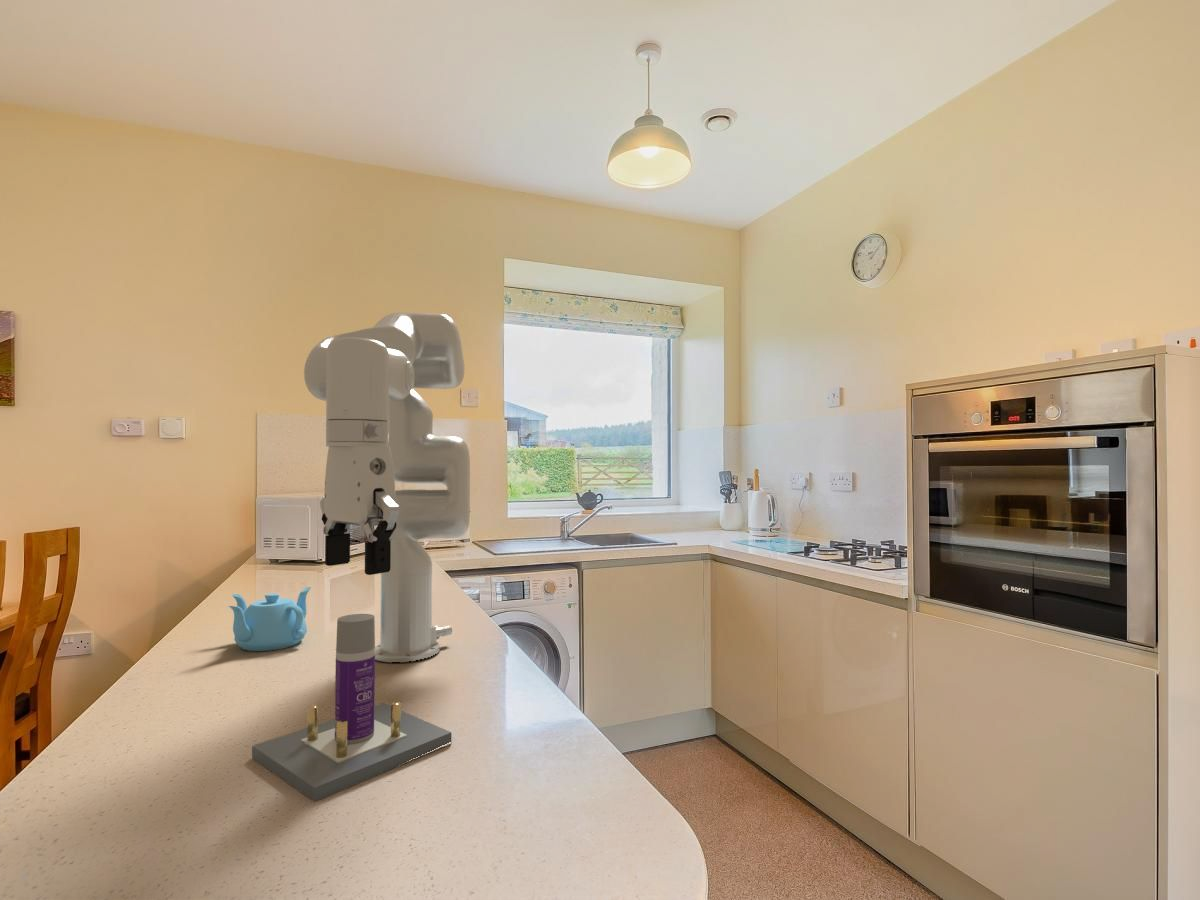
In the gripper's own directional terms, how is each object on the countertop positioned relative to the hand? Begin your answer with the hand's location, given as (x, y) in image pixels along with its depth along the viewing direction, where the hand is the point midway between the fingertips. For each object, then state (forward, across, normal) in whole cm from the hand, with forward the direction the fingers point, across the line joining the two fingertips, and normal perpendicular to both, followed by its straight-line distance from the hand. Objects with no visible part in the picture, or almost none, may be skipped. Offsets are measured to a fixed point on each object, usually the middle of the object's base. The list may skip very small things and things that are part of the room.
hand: (356, 568), depth 80 cm
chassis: (+23, -1, +1) cm, 23 cm away
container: (+21, 0, 0) cm, 21 cm away
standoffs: (+21, -1, +1) cm, 21 cm away
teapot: (+24, +58, -13) cm, 65 cm away
